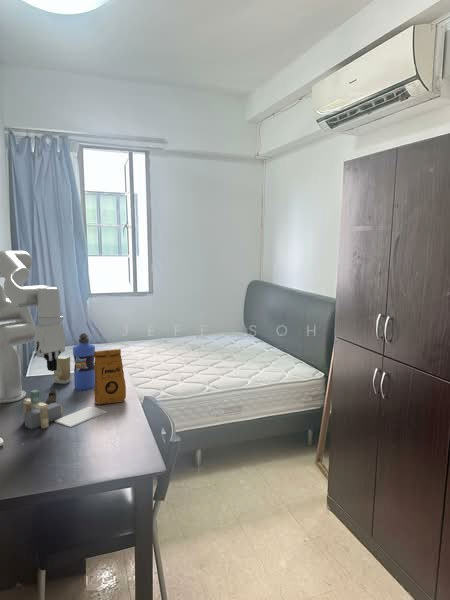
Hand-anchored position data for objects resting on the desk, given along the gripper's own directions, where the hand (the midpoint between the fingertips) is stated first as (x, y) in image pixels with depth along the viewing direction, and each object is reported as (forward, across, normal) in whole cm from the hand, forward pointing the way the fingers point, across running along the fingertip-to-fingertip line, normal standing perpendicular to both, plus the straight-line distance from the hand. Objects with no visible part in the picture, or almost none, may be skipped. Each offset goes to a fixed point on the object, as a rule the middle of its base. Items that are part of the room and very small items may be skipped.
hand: (52, 370), depth 149 cm
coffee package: (+19, -23, +4) cm, 30 cm away
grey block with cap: (+19, +4, -1) cm, 19 cm away
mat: (+19, -6, +7) cm, 21 cm away
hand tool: (+19, -6, -12) cm, 23 cm away
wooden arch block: (+18, +7, -1) cm, 20 cm away
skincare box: (+18, -27, -33) cm, 46 cm away
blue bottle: (+18, -28, -18) cm, 38 cm away
